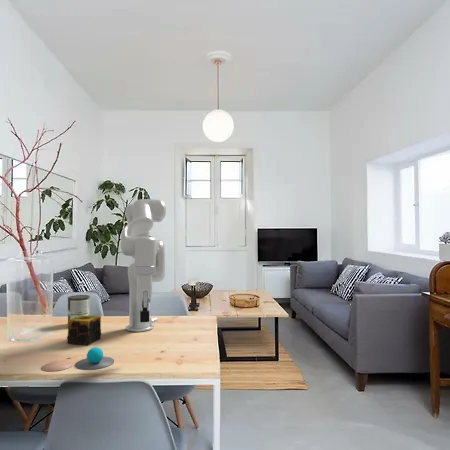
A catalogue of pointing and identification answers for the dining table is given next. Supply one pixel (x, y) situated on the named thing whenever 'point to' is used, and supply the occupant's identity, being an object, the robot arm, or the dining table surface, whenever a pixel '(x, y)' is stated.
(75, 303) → the coffee can
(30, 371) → the dining table surface
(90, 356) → the ball
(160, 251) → the robot arm
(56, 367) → the disc
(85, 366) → the disc
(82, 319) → the candle
